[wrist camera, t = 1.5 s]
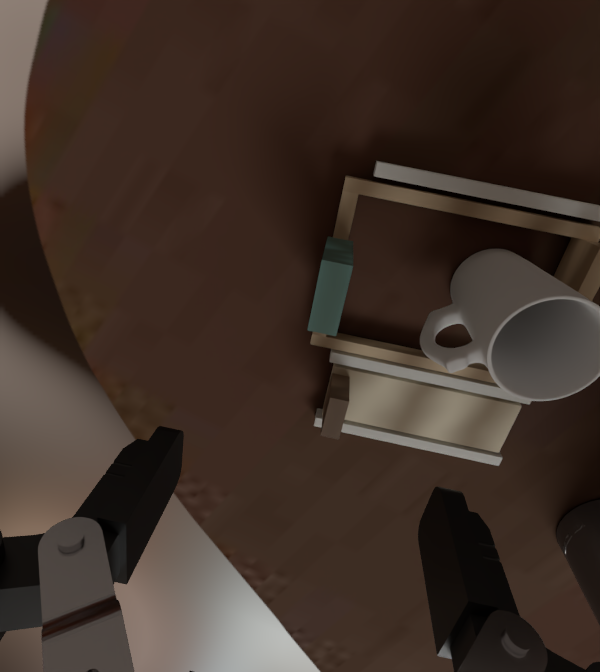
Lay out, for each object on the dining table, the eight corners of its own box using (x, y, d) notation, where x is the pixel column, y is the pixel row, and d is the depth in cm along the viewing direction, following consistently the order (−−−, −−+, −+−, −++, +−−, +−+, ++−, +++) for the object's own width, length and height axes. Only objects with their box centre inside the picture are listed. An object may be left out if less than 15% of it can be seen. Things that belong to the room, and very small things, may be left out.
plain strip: (516, 398, 39) (539, 435, 34) (494, 444, 41) (513, 484, 36) (334, 360, 39) (331, 390, 34) (322, 407, 41) (318, 442, 37)
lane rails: (614, 208, 31) (627, 211, 30) (493, 454, 42) (498, 465, 40) (376, 160, 32) (377, 161, 30) (315, 416, 42) (313, 425, 41)
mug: (525, 232, 33) (611, 278, 22) (539, 309, 35) (622, 384, 24) (398, 273, 35) (418, 333, 24) (418, 342, 38) (445, 425, 27)
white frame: (594, 225, 32) (670, 252, 24) (519, 381, 38) (561, 442, 30) (340, 174, 32) (337, 185, 25) (307, 336, 38) (296, 385, 31)
